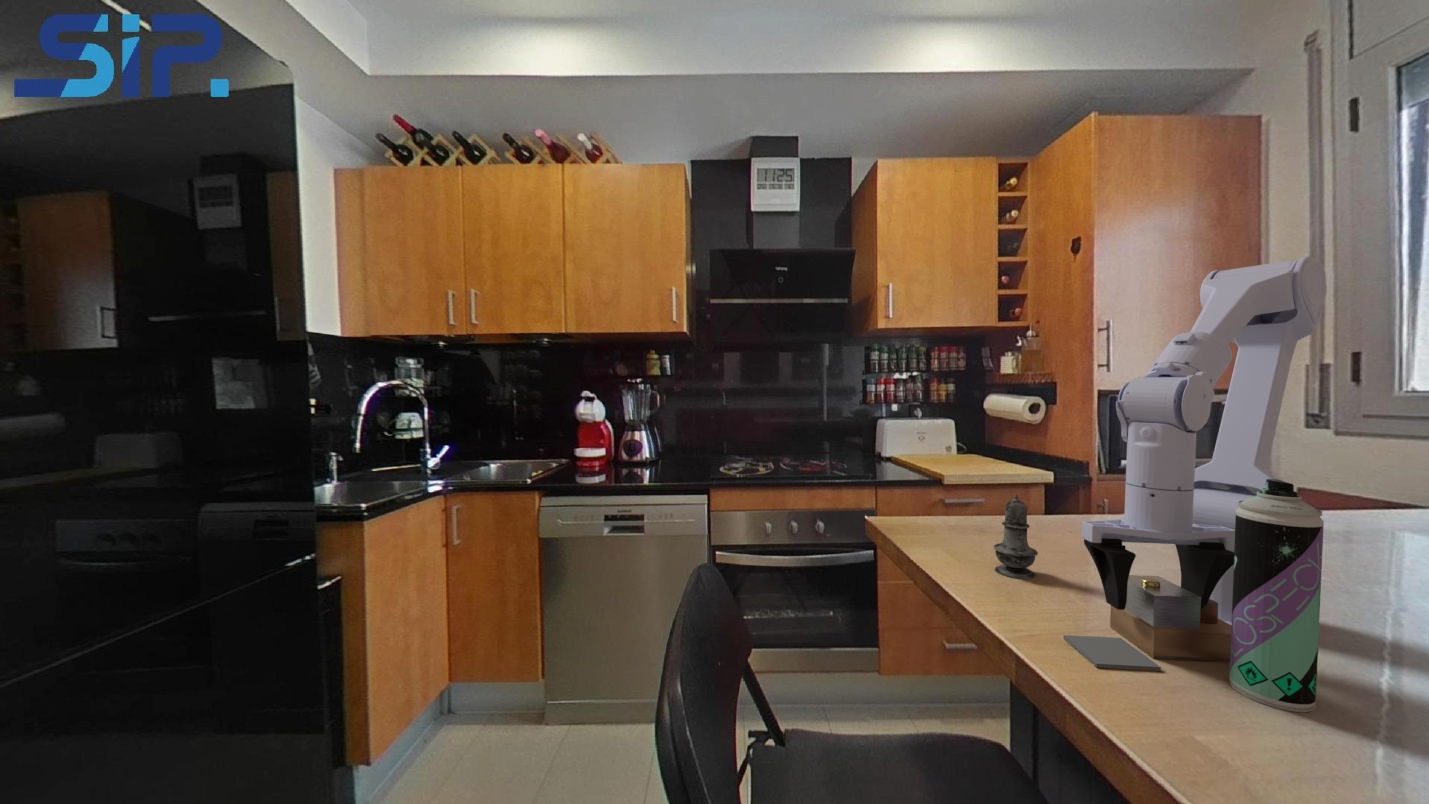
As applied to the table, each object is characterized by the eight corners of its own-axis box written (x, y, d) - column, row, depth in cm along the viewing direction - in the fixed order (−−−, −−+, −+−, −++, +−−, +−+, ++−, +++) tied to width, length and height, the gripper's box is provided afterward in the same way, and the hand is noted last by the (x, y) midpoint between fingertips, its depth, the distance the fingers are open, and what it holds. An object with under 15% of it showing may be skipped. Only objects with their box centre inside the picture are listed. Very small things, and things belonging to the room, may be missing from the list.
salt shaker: (1044, 581, 76) (1046, 499, 75) (1000, 578, 77) (1001, 497, 77) (1028, 567, 82) (1030, 491, 81) (987, 564, 83) (989, 489, 82)
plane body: (1193, 630, 61) (1194, 588, 60) (1247, 663, 54) (1249, 615, 54) (1110, 627, 62) (1111, 585, 61) (1153, 658, 55) (1154, 611, 55)
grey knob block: (1157, 605, 61) (1158, 571, 60) (1199, 630, 55) (1201, 592, 54) (1115, 604, 61) (1116, 570, 61) (1153, 628, 55) (1154, 590, 55)
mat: (1120, 641, 58) (1120, 637, 58) (1160, 670, 52) (1160, 667, 52) (1063, 638, 59) (1063, 635, 59) (1096, 667, 53) (1096, 663, 53)
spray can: (1213, 678, 51) (1220, 475, 50) (1263, 675, 51) (1271, 474, 51) (1278, 714, 46) (1287, 487, 45) (1334, 710, 46) (1344, 485, 45)
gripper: (1200, 481, 61) (1194, 596, 61) (1067, 477, 62) (1063, 590, 62) (1257, 493, 54) (1250, 624, 54) (1106, 489, 55) (1101, 616, 55)
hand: (1153, 607), depth 58 cm, fingers open, 7 cm apart
